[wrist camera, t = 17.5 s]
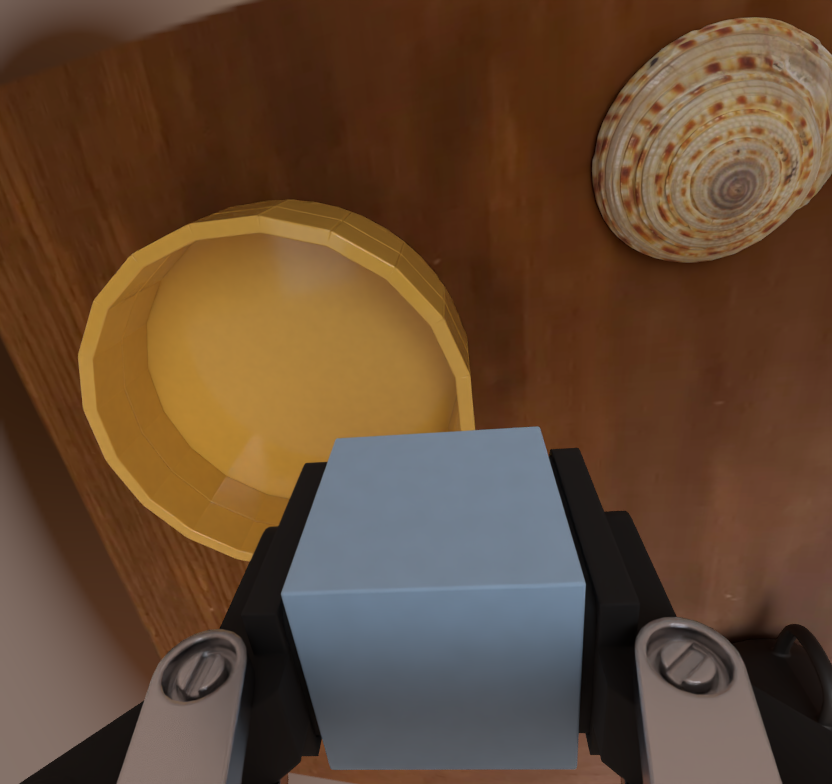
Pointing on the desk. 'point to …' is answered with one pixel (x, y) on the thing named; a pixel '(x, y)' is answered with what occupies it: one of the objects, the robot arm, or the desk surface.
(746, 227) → the seashell
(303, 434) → the bowl
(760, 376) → the desk surface
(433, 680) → the toy blue
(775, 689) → the mug
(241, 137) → the desk surface
